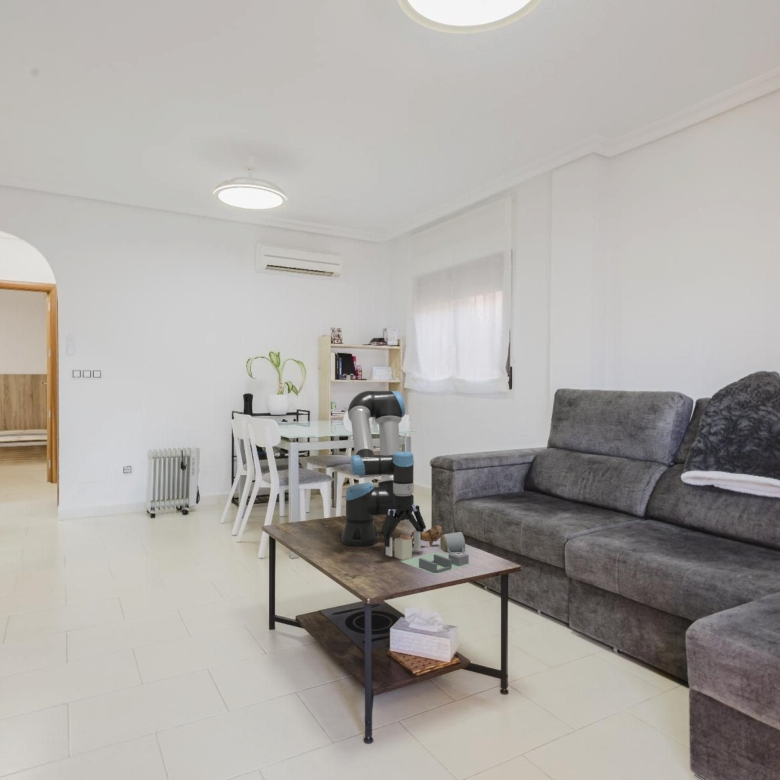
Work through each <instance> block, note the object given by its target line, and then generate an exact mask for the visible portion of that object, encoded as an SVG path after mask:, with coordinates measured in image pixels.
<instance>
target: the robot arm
mask: <svg viewBox="0 0 780 780" xmlns="http://www.w3.org/2000/svg"><path fill="white" fill-rule="evenodd" d="M405 406H406V405H405V400H404V397H403V395H402V392H401V391H398V390H397V391H396V390H365V391H362V392H360V393H358V394H357V395H355V396H354V397H353V398H352V400H351V402H350V403H349V404H348V408H347V416H348V420H349V421H350V423H351V429H352V441H353V451H354V455H351V457H350V473H351V474H352V475H353V476H375V475H376V476H378V475H379V476H381V478H380V480H379V481H378V483H377V485H378V486H375V485H374V483H372V482H363V483H356V484H352V485H350V486H348V487H347V488H346V491H345V498H344V499H345V524H344V526H343V530H342V534H341V541H342V542H341V543H342V544H343V543H344V545H346V544H347V546H350V545H352V546H351V547H366V546H367V547H368V546H371V545H375V544H377V543H378V542H379V536H380V537H382V538H384V543H383V544H384V548H385V556H387V557H393V537H392V535H393V533H394V531H395V529H396V528H397V526H398V524H399V523H400V522H401V521H405V520H408V521H409V522H410V524H411V525H412V527H413V528H414V530H417V531H414V530H413V531H414V542H413V544H414V545H413V548H414V549H415V550H418V551H420V550H421V541H422V540H421V538H422V536H421V535H422V532H425V530H426V529H427V526H426V524H425V523H426V522H425V521H424V518H423V517H422V516H423V515H422V514H421V510H420V506H419V505H416V504H414V503H415V502H414V501H415V500H414V499H415V498H414V469H415V468H414V463H415V461H414V453H413V452H412V451H401V444H400V442H401V440H400V429H399V424H400V423H401V422H402V420H403V419H402V418H404V416H405V414H406V409H405V408H406V407H405ZM370 418H374V421H375V423H376V424H377V425H378V431H379V432H378V433H379V454H375V451H374V450H375V449H374V445H373V444H374V443H373V438H372V431H371V424H370V423H371V422H370ZM375 516H385V517H384V518H385V519H384V520H383V524H382V527H381V529H380V532H379V534H378V531H377V527H376V525H375Z"/></svg>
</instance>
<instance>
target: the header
mask: <svg viewBox="0 0 780 780" xmlns="http://www.w3.org/2000/svg"><path fill="white" fill-rule="evenodd" d="M437 565H440V566H443V567H444V568H441V567H438V568H441V569H437ZM419 567H420V568H422V569H425V570H428V571H430V572H433V573H439V574H441V573H440V572H443V571H446V572H448V571H447V570H450V569H451V568H452V560H451V559H448V558H445V557H442V556H439V555H436V554H435V555H434V561H428V560H425V559H422V558H419ZM450 571H451V570H450ZM443 573H444V572H443Z"/></svg>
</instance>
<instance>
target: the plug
mask: <svg viewBox="0 0 780 780" xmlns="http://www.w3.org/2000/svg"><path fill="white" fill-rule="evenodd" d="M412 539H413V538H411V535H405V534H400V535H399V537H396V538H394V558H396V559H399V560H400V561H403V560H407V559H411V558H413V545H412Z"/></svg>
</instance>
